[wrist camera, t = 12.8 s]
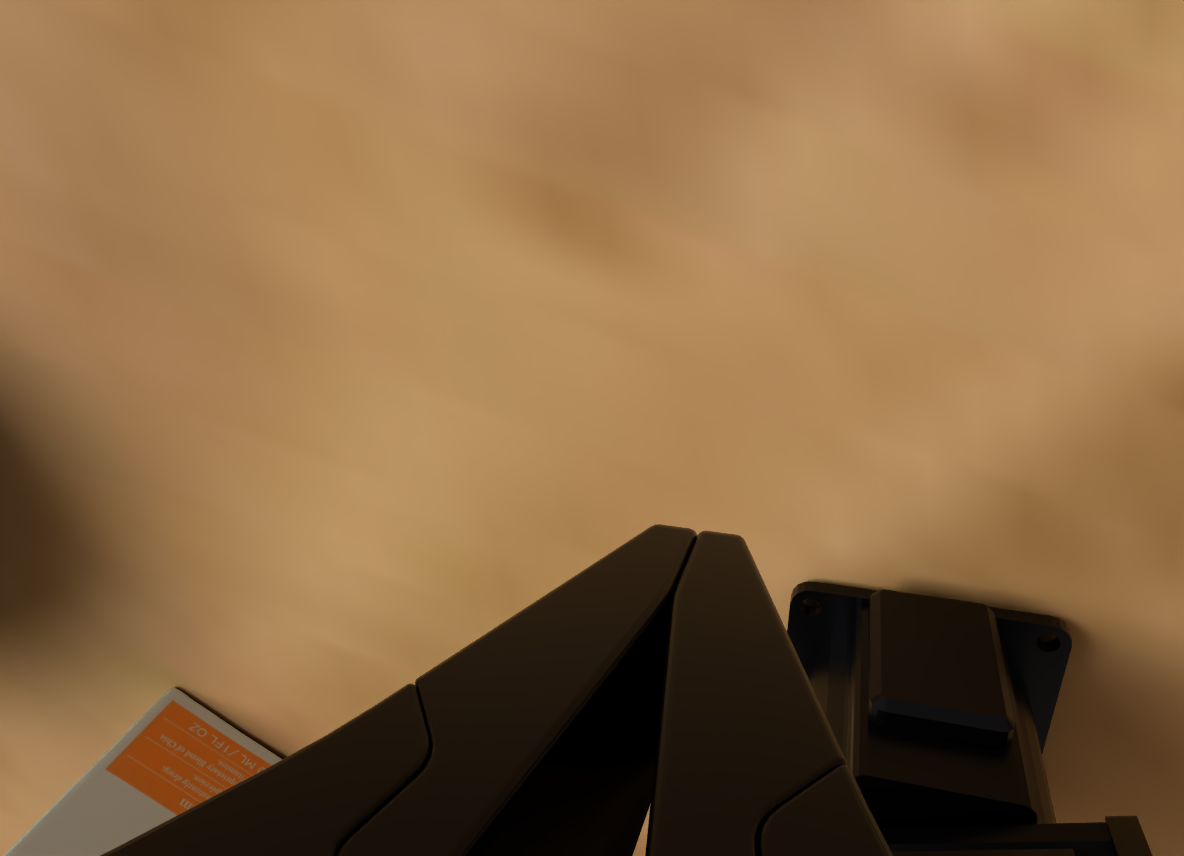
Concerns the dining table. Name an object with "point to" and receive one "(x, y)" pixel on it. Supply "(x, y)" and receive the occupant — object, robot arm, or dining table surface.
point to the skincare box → (146, 780)
